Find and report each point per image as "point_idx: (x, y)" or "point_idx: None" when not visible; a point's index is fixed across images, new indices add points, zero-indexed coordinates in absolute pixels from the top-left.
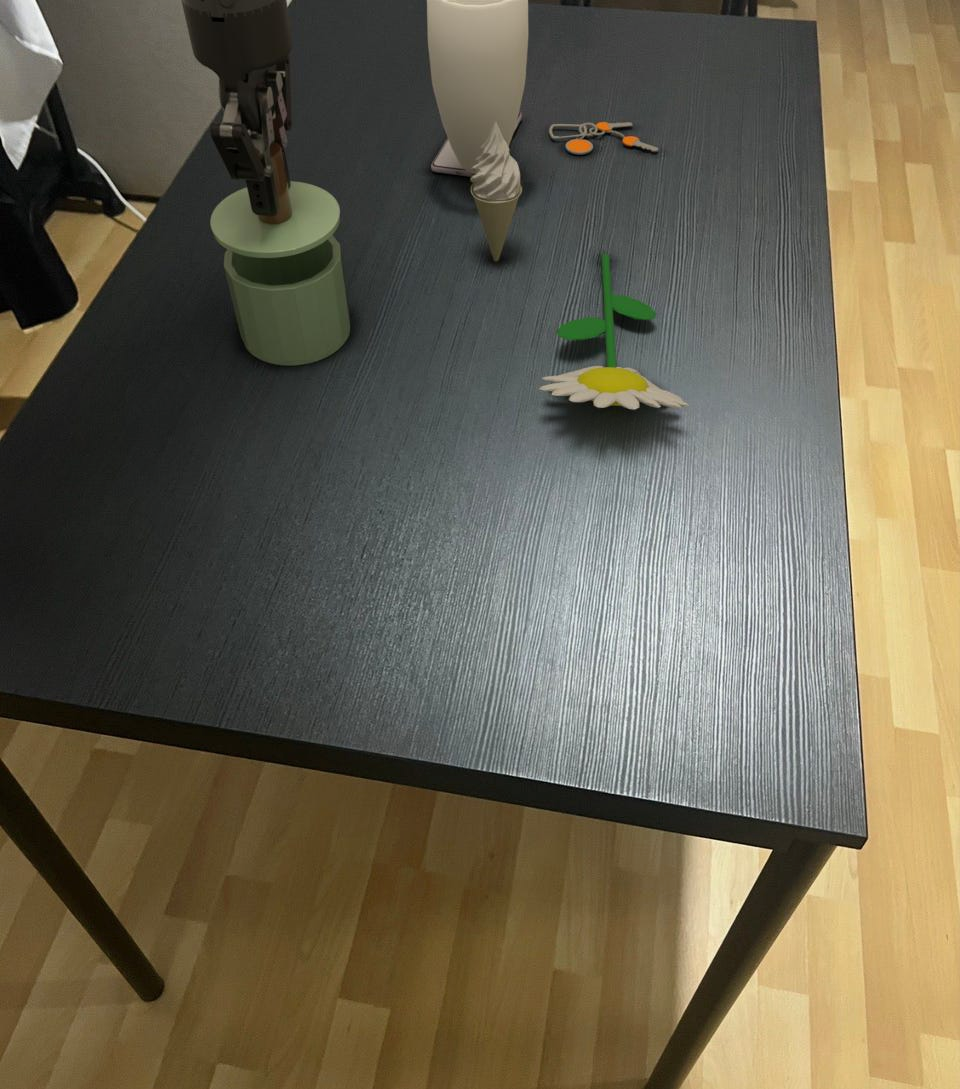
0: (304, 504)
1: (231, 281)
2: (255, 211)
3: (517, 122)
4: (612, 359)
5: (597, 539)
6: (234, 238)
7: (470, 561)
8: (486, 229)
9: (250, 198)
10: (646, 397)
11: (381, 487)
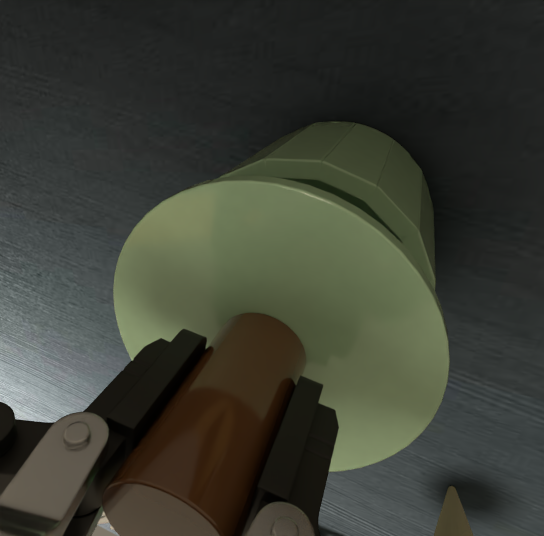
0: (30, 204)
1: (229, 171)
2: (158, 342)
3: None
4: None
5: (50, 411)
6: (157, 247)
7: (10, 330)
8: (443, 532)
9: (158, 357)
10: (103, 521)
11: (66, 280)
